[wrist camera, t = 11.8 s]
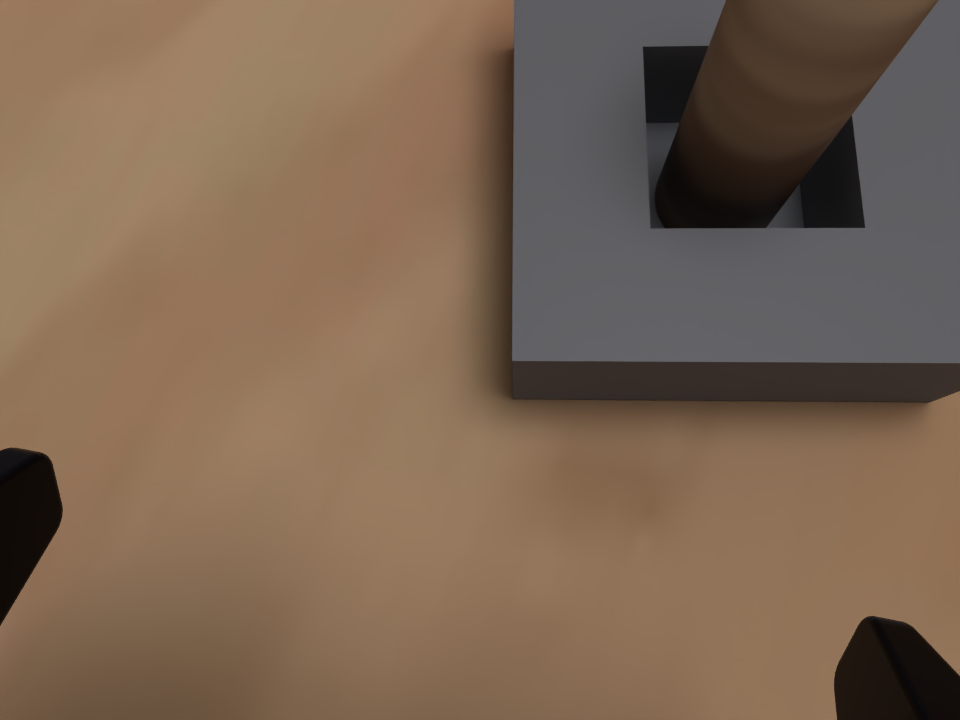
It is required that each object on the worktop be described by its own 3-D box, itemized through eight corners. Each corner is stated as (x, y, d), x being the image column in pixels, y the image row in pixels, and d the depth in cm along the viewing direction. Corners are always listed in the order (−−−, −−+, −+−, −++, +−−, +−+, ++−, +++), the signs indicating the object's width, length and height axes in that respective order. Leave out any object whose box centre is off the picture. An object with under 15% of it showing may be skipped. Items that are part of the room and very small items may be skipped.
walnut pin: (739, 274, 22) (940, 18, 12) (633, 218, 23) (734, -74, 12) (792, 181, 23) (1028, -141, 13) (689, 128, 24) (830, -222, 13)
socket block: (930, 402, 22) (1031, 363, 18) (512, 398, 23) (512, 360, 18) (882, 41, 25) (959, -67, 21) (514, 46, 26) (514, -58, 21)
